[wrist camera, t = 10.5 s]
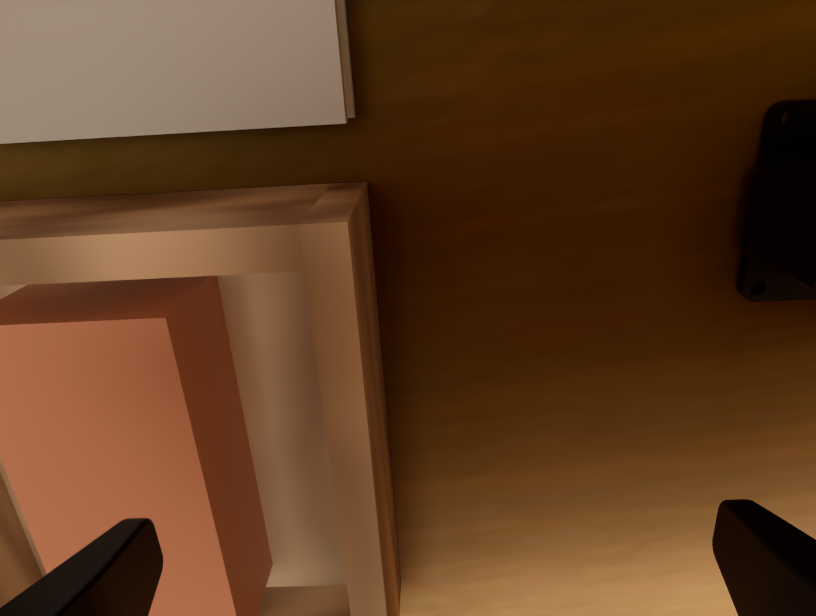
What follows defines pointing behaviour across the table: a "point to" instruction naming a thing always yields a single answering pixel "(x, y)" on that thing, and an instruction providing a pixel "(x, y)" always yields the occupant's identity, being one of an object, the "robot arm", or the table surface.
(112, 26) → the book pile base
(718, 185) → the table surface
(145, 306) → the terracotta rectangular block
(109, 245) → the shelf tray
